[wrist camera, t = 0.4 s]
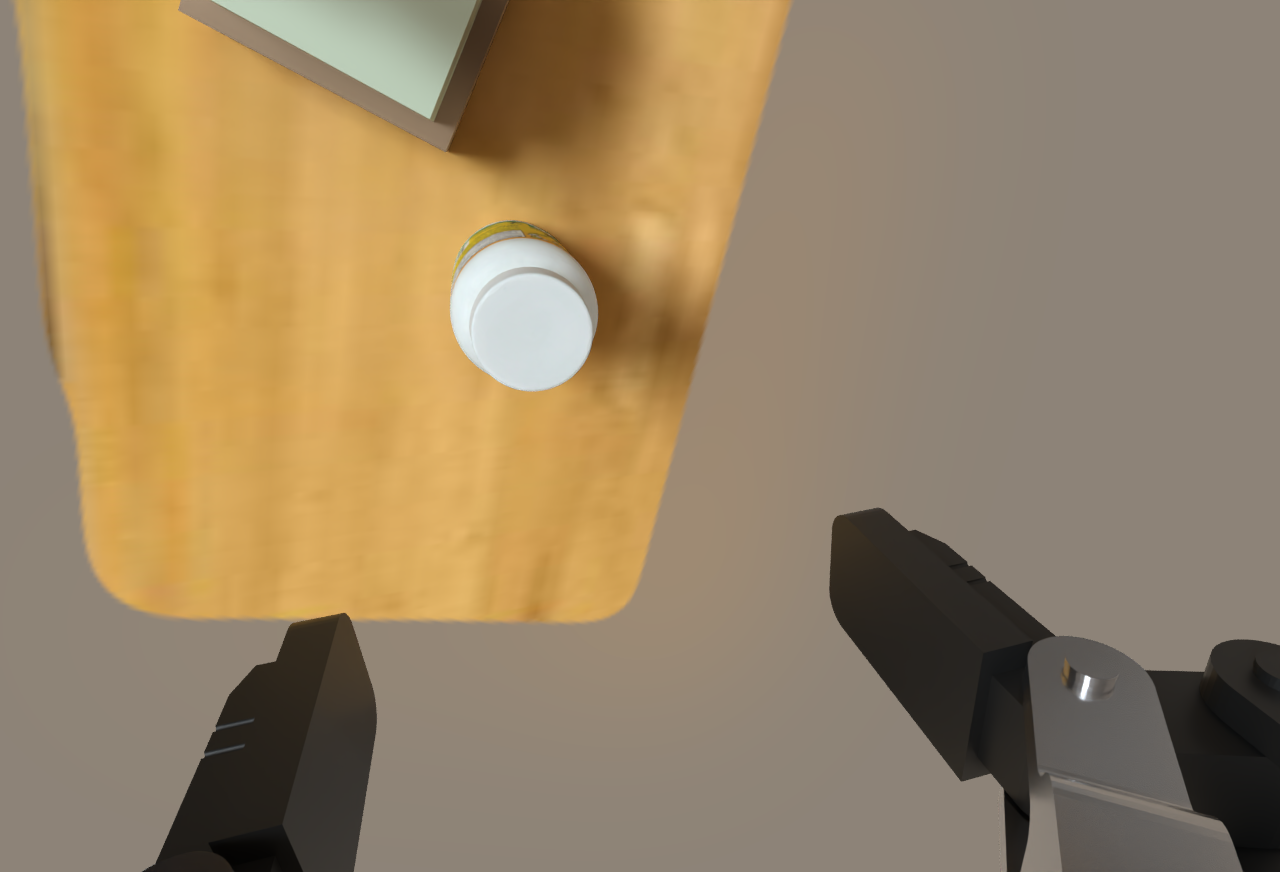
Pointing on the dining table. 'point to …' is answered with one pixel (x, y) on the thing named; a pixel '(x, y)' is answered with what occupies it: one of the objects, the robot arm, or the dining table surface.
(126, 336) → the dining table surface
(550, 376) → the supplement bottle
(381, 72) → the stepped square pedestal
